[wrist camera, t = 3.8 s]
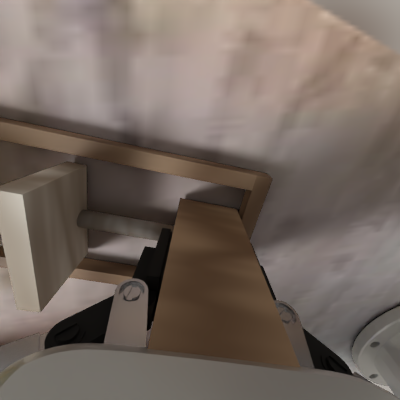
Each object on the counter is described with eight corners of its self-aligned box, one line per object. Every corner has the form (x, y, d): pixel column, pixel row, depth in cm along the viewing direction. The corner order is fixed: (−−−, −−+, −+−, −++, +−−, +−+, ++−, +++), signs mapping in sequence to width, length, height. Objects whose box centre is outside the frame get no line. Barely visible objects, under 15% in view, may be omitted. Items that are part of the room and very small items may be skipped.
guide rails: (266, 173, 13) (272, 178, 12) (225, 289, 17) (227, 301, 16) (-26, 111, 12) (-50, 111, 11) (5, 255, 16) (-10, 265, 15)
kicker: (241, 195, 14) (330, 369, 4) (216, 273, 16) (239, 482, 7) (66, 161, 13) (-297, 292, 3) (71, 250, 15) (-122, 458, 6)
